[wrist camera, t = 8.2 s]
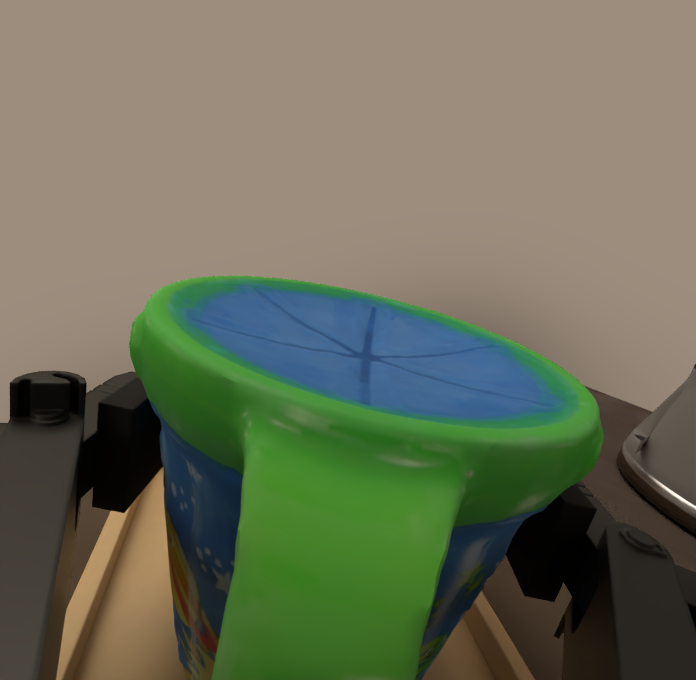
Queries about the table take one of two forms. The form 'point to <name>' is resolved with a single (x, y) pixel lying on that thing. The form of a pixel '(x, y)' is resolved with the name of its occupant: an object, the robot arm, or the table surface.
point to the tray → (158, 617)
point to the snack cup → (342, 471)
